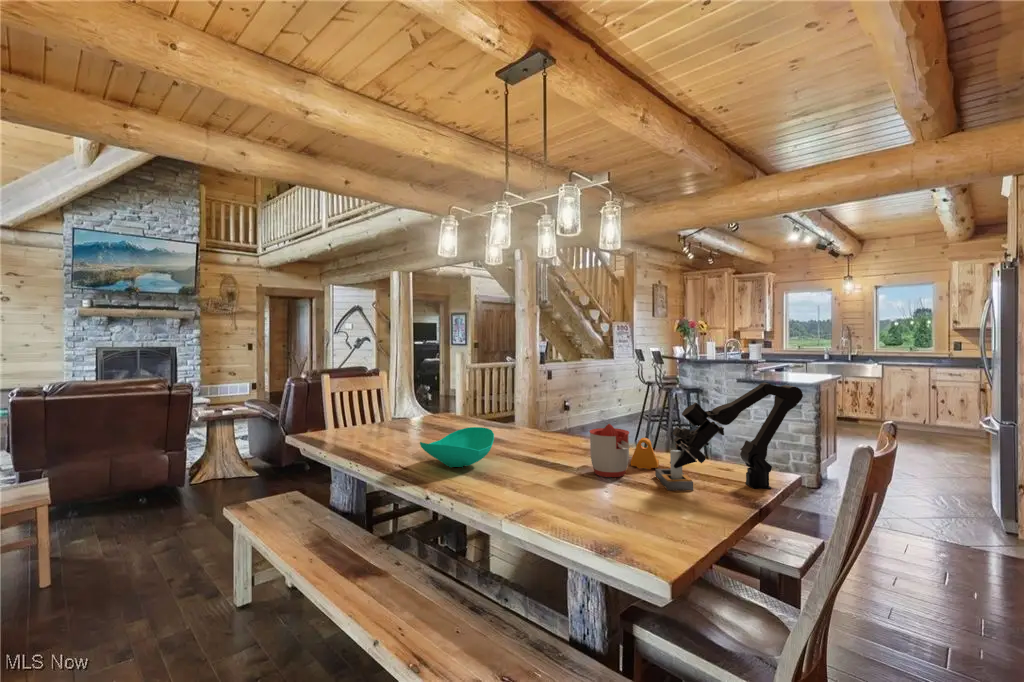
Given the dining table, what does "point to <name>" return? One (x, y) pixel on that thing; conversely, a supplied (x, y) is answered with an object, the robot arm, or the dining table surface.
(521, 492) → the dining table surface
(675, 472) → the peg
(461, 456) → the table top decor
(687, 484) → the grey boxy holed piece
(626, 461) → the citrus juicer
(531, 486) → the dining table surface
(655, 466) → the bracket
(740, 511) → the dining table surface
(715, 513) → the dining table surface
